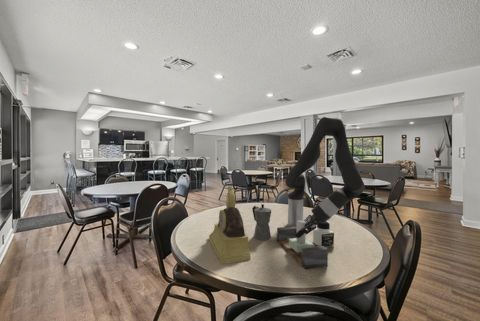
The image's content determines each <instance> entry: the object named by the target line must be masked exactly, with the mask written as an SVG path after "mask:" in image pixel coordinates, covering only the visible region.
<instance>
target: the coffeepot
mask: <svg viewBox="0 0 480 321" xmlns="http://www.w3.org/2000/svg"><path fill="white" fill-rule="evenodd" d="M260 205H261V207H260V206H256V205H254V206H253V207H252V209H251V210H252V216H253V219H254V221H255V223H256V224H255V228H254V234H253V237H254V239H256V240H259V241H267V240H270V239H271V238H272V235H271V234H272V233H271V229H270V225H269V224H270V222H271V215H272V209H270V208H268V207H265V204H263V203H261V204H260Z"/></svg>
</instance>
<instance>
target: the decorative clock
mask: <svg viewBox="0 0 480 321" xmlns="http://www.w3.org/2000/svg"><path fill="white" fill-rule="evenodd" d="M227 191H228V192H227V193H226V201H225V208H224V209H219V214H218V222H217V223H214V228H213V230H212V232H211V233H210V234H208V235H209V236H208V240H210V241H209V242H210V243H211V245H212V247H213V249H214V251H215V255H216V256H217V259H218V260H219V263H220V264H221V265H224V264H230V263H231V264H232V263H237V262H243V261H249V260H251V253H250V252H251V251H250V247H249V236H248V235H247V234H246V233H245V232H246V231H245V226H244V221H243V217H242V215H241V212H240V210H239V208H237V207H236V194H235V191H234V188H233V186H232V185H229V186H227Z"/></svg>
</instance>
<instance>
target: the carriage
mask: <svg viewBox="0 0 480 321" xmlns="http://www.w3.org/2000/svg"><path fill="white" fill-rule="evenodd" d="M306 222H307V221H306ZM306 222H305V221H304V220H303V221H301V220H299V221H297V231H296V233H297V232H298V231H299V230H300V229H301V228H303V227H304V224H305V223H306ZM306 235H307V234H303V235H302V236H301V237H300V238H297V237H296V238H292V239H289V246H290V247H291V248H293V249H294V250H295V251H296V252H297V253H299V252H302V248H310V247H315V243H313V242H311V241H310V240H309V239H307V238H306V237H307V236H306Z"/></svg>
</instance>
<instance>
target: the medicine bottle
mask: <svg viewBox="0 0 480 321" xmlns="http://www.w3.org/2000/svg"><path fill="white" fill-rule="evenodd" d="M312 231H313V232H312V233H313V234H312V243H313V244H314V245H317V247H319V246H324V247H325V248H331V247H334V246H335V232H334V231H332V230H331V223H330V221H329V220H327V221H326V222H325V223H321V221H319V222H318V223H317V225H316V228H315V229H314V230H312Z"/></svg>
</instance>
